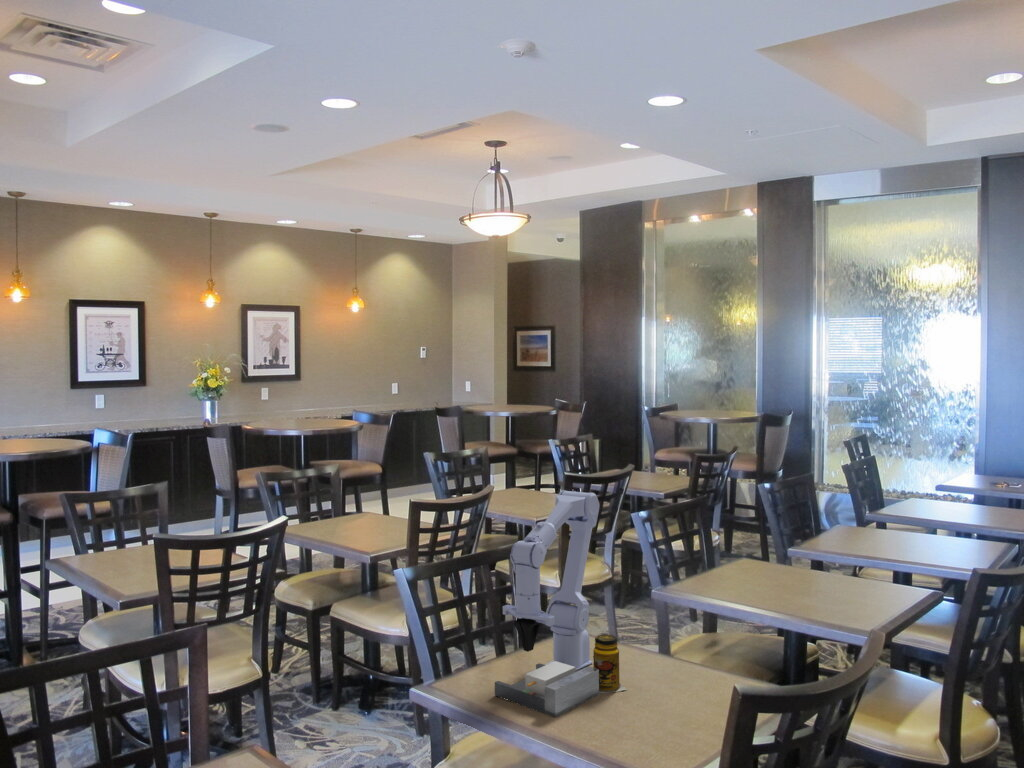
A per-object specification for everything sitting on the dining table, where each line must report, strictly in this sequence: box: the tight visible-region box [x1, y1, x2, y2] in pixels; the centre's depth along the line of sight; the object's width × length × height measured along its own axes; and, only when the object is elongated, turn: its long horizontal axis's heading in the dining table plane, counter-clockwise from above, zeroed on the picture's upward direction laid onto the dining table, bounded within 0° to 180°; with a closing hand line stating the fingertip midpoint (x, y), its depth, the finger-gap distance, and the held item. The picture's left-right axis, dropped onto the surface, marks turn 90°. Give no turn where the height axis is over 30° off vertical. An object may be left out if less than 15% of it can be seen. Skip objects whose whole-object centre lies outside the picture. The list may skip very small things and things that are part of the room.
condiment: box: [592, 633, 628, 695], centre depth 198 cm, size 7×8×12 cm
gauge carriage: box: [524, 661, 577, 696], centre depth 190 cm, size 14×6×5 cm, turn 138°
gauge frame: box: [494, 663, 600, 718], centre depth 192 cm, size 16×18×6 cm
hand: (528, 650), depth 196 cm, fingers closed
